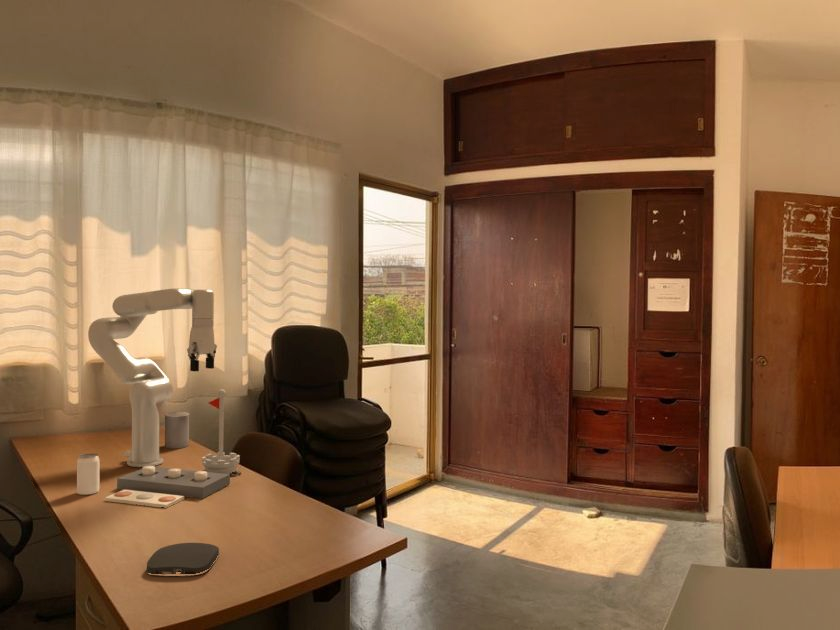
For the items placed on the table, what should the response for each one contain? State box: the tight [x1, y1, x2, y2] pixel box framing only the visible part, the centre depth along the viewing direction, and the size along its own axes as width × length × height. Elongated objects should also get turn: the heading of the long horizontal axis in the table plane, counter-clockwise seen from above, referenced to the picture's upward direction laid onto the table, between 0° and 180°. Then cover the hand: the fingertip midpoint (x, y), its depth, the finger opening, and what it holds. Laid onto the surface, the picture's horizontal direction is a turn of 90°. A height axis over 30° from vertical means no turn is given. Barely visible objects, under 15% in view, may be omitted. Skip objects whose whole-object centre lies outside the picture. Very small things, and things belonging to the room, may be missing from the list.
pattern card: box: [104, 489, 185, 509], centre depth 205 cm, size 22×9×1 cm, turn 75°
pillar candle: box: [164, 411, 190, 449], centre depth 276 cm, size 10×10×15 cm
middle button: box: [168, 468, 182, 479], centre depth 219 cm, size 4×4×3 cm
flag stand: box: [201, 388, 241, 474], centre depth 239 cm, size 13×13×30 cm
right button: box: [194, 470, 207, 482], centre depth 216 cm, size 4×4×3 cm
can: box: [76, 452, 100, 496], centre depth 211 cm, size 6×6×12 cm
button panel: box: [116, 466, 231, 499], centre depth 219 cm, size 32×16×4 cm, turn 75°
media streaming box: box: [146, 542, 220, 574], centre depth 158 cm, size 15×15×3 cm
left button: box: [141, 466, 156, 476], centre depth 221 cm, size 4×4×3 cm
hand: (202, 369), depth 240 cm, fingers open, 9 cm apart
